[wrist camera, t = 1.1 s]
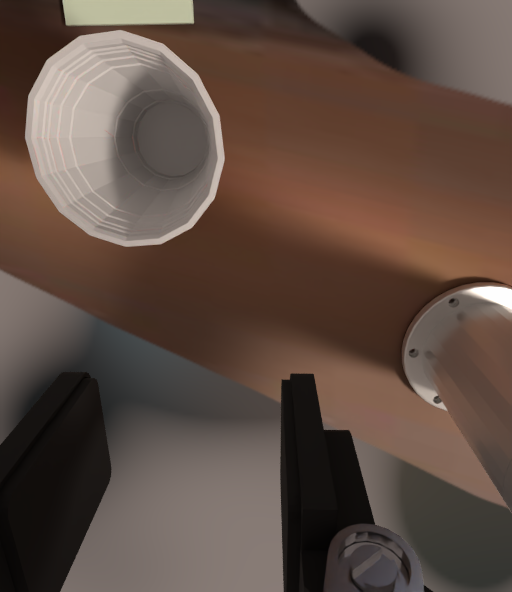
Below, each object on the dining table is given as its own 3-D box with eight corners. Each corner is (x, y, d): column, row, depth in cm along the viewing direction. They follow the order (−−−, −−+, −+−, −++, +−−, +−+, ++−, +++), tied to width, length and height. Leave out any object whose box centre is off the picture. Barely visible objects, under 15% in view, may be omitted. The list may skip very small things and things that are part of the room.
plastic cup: (76, 89, 33) (-23, 71, 22) (212, 40, 32) (181, -6, 20) (132, 227, 37) (72, 272, 25) (257, 189, 35) (251, 218, 24)
